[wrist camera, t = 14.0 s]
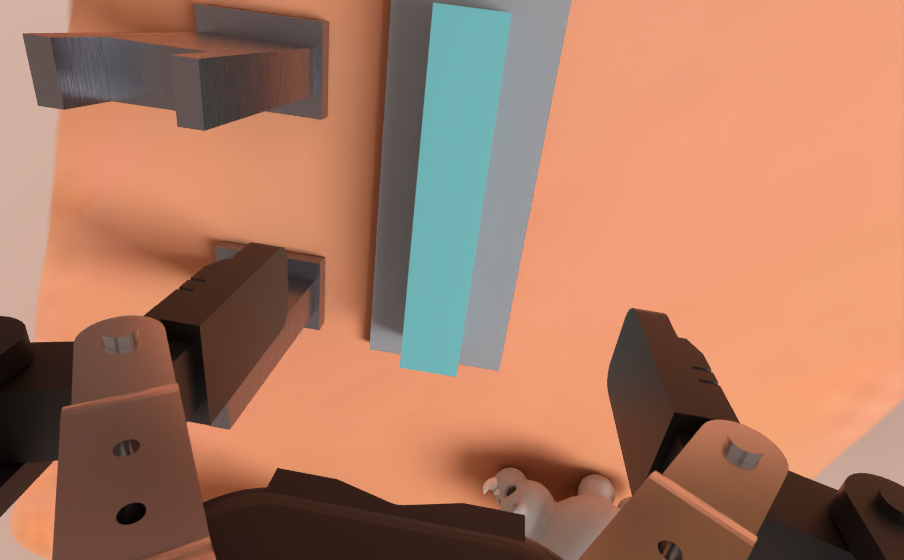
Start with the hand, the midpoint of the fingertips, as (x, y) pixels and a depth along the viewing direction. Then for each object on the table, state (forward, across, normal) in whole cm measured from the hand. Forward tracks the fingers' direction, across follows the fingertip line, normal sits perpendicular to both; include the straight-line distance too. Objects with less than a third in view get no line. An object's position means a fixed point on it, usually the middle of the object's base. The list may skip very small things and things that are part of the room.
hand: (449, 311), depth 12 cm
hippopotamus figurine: (+20, -10, +25) cm, 34 cm away
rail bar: (+19, +2, +4) cm, 20 cm away
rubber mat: (+20, +2, +4) cm, 20 cm away
